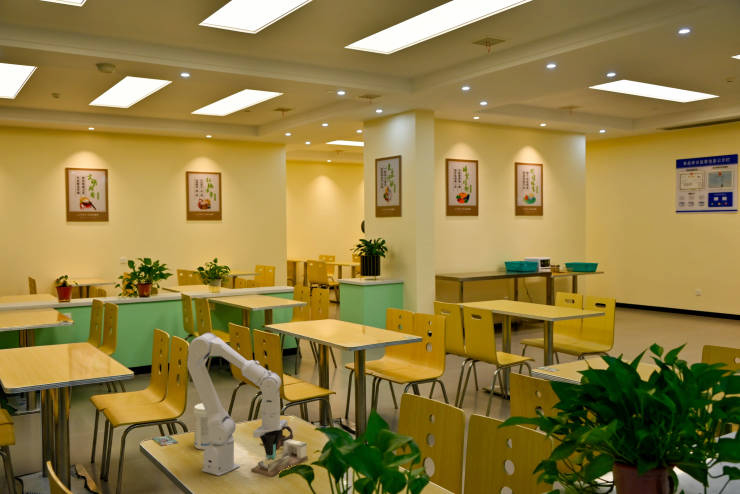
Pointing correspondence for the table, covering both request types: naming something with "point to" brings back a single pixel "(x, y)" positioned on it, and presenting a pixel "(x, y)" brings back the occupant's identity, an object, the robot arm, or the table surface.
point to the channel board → (279, 465)
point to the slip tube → (274, 457)
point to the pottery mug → (284, 438)
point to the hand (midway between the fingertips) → (270, 453)
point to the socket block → (296, 448)
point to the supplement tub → (201, 427)
